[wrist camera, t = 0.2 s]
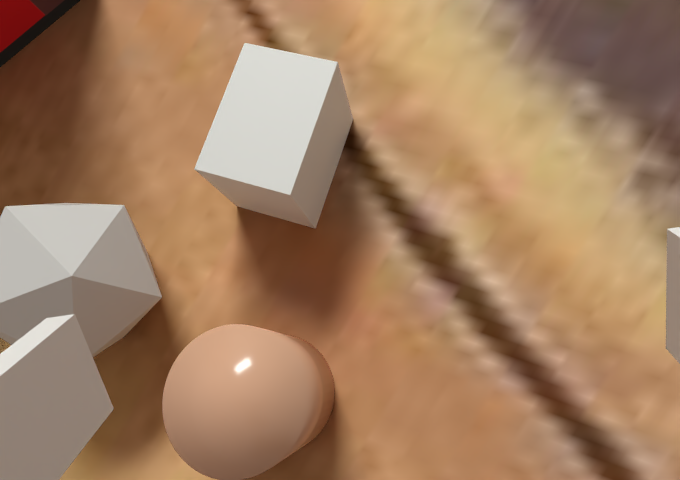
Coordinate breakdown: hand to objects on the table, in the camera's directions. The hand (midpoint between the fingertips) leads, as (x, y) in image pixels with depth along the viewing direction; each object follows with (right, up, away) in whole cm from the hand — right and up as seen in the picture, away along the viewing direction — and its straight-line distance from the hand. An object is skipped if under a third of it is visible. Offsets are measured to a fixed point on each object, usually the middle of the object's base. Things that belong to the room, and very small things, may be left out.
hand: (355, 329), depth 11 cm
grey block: (-3, +7, +19) cm, 20 cm away
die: (-14, -1, +19) cm, 23 cm away
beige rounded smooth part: (-4, -6, +16) cm, 17 cm away
